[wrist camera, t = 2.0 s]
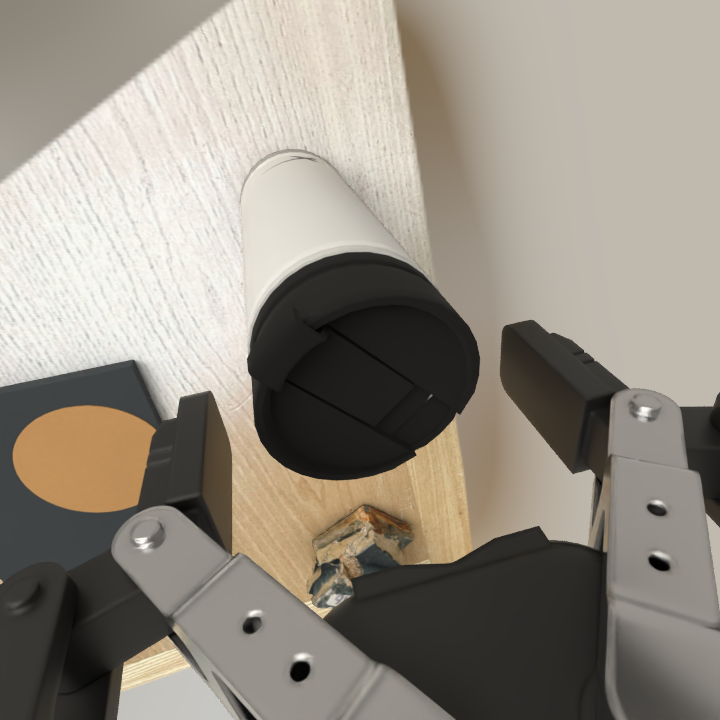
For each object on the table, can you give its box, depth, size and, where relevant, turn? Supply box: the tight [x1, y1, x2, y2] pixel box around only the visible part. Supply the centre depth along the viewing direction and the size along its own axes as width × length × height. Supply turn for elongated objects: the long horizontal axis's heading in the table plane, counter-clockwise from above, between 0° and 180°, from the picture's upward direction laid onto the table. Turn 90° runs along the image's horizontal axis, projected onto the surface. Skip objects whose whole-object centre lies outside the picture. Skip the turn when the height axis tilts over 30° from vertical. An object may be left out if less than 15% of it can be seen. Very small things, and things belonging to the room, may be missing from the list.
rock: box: [307, 505, 415, 609], centre depth 44 cm, size 9×9×6 cm
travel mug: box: [240, 149, 480, 480], centre depth 20 cm, size 6×7×20 cm
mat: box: [0, 360, 162, 582], centre depth 36 cm, size 20×16×1 cm
